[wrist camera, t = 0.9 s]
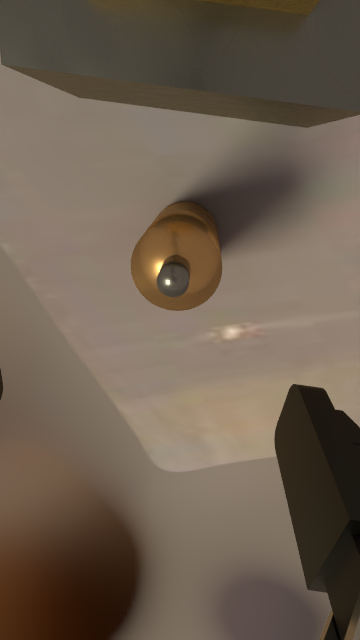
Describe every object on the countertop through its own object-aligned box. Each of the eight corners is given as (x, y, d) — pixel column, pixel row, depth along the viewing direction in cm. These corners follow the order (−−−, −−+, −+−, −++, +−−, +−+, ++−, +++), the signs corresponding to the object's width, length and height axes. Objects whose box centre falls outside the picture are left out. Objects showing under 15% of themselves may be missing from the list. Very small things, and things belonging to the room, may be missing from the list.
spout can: (155, 197, 24) (124, 223, 15) (223, 206, 24) (232, 238, 15) (150, 263, 26) (120, 320, 17) (211, 271, 26) (214, 333, 17)
